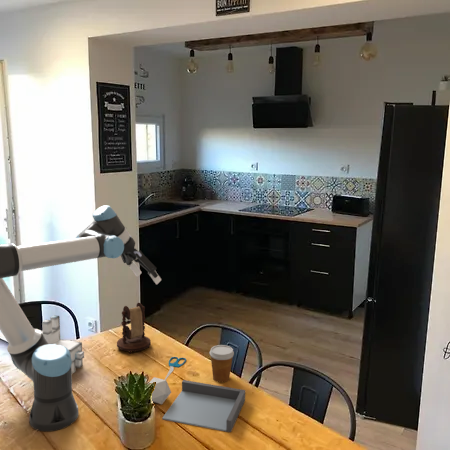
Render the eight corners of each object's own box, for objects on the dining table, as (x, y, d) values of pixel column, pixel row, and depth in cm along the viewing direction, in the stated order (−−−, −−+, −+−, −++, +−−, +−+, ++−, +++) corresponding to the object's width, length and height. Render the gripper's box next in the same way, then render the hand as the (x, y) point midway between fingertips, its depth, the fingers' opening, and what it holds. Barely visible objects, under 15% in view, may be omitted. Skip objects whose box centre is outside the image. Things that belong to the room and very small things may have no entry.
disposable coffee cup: (212, 386, 174) (212, 356, 172) (206, 374, 183) (207, 345, 181) (236, 383, 177) (237, 353, 175) (229, 371, 186) (230, 343, 184)
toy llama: (77, 375, 180) (75, 326, 177) (39, 368, 185) (36, 321, 182) (88, 366, 187) (86, 319, 184) (50, 360, 192) (48, 314, 189)
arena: (230, 432, 146) (231, 420, 146) (162, 419, 153) (162, 408, 152) (245, 400, 165) (245, 390, 164) (183, 389, 171) (183, 379, 170)
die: (175, 399, 166) (166, 373, 169) (170, 400, 157) (162, 372, 161) (153, 408, 165) (145, 381, 168) (148, 409, 157) (140, 381, 160)
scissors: (187, 358, 195) (172, 381, 176) (187, 360, 196) (172, 384, 176) (171, 356, 197) (155, 379, 177) (171, 358, 197) (155, 382, 178)
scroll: (128, 357, 196) (127, 312, 192) (110, 346, 207) (109, 303, 203) (157, 348, 206) (156, 305, 202) (139, 337, 216) (138, 296, 213)
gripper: (147, 239, 170) (173, 278, 181) (111, 229, 187) (137, 265, 199) (133, 253, 166) (161, 292, 178) (98, 241, 184) (125, 278, 195)
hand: (148, 278), depth 188 cm, fingers open, 13 cm apart
